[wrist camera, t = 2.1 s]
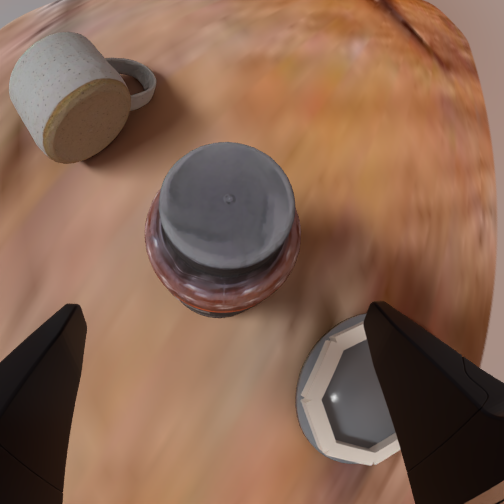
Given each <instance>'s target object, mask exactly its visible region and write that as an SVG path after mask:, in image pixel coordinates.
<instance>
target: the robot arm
mask: <svg viewBox="0 0 504 504" xmlns="http://www.w3.org/2000/svg"><path fill="white" fill-rule="evenodd" d="M363 325H364V330H365V334H366V338H367V342H368V346H369V350H370V354H371V359H372V362H373V366H374V369H375V372H376V375H377V378H378V381H379V384H380V386H381V389H382V392H383V395H384V398H385V401H386V404H387V407H388V410H389V413H390V417H391V420H392V423H393V426H394V429H395V432H396V436H397V439H398V442H399V446H400V449H401V452H402V456H403V459H404V463H405V466H406V470H407V472H408V473H407V474H408V478H409V482H410V485H411V489H412V493H413V497H414V501H415V504H504V383H503V382H501V381H499V380H498V379H496V378H494V377H493V376H491V375H490V374H488V373H486V372H485V371H483V370H482V369H480V368H479V367H477V366H476V365H475V364H473V363H472V362H470V361H469V360H468V359H466V358H465V357H462V355H461V354H459V353H458V352H456V351H455V350H454V349H452V348H451V347H449V346H448V345H447V344H445V343H444V342H442V341H441V340H439V339H438V338H437V337H435V336H434V335H432V334H431V333H429V332H428V331H427V330H425V329H424V328H422V327H421V326H419V325H418V324H416V323H415V322H414V321H412V320H411V319H409V318H408V317H406V316H405V315H403V314H402V313H400V312H399V311H398V310H396V309H395V308H393V307H392V306H390V305H389V304H387V303H386V302H384V301H374V302H372V303H371V304H370V306H369V309H368V311H367V314H366V316H365V319H364V323H363ZM86 334H87V325H86V321H85V318H84V315H83V312H82V309H81V307H80V305H78V304H66V305H65V306H63V307H62V308H61V309H60V310H59V311H57V312H56V313H55V314H54V315H53V316H52V317H50V318H49V319H48V320H47V321H46V322H45V323H43V324H42V325H41V326H40V327H39V328H38V329H37V330H35V331H34V332H33V333H32V334H31V335H30V336H29V337H27V338H26V339H25V340H24V341H23V342H22V343H21V344H20V345H19V346H17V347H16V348H15V349H14V350H13V351H12V352H11V353H10V354H9V355H8V356H7V357H6V358H4V359H3V360H2V361H1V362H0V504H62V502H63V493H62V492H63V486H64V476H65V466H66V458H67V450H68V443H69V436H70V430H71V423H72V418H73V412H74V407H75V401H76V396H77V391H78V387H79V382H80V377H81V371H82V363H83V355H84V347H85V340H86Z"/></svg>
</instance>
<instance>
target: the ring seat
mask: <svg viewBox="0 0 504 504" xmlns="http://www.w3.org/2000/svg"><path fill="white" fill-rule="evenodd" d="M366 314H367V313H365V314H361V315H356V316H354V317H351V318H348V319H346V320H344V321H343V322H341V323H339V324H337V325H336V326H335V327H333V328H332V329H330V330H329V331H328V332H327V333H326V334H325V335H324V336H323V337H322V338H321V339H320V340H319V341H318V342H317V343H316V345H315V346H314V347H313V349H312V350H311V352H310V353H309V355H308V357H307V359H306V361H305V362H304V364H303V367H302V370H301V372H300V375H299V379H298V383H297V388H296V413H297V418H298V421H299V425H300V427H301V429H302V431H303V434H304V435H305V437H306V438H307V440H308V441H309V442H310V443H311V444H312V445H313V446H314V447H315V448H316V449H317V450H318V451H319V452H320V453H322V454H323V455H324V456H326V457H328V458H330V459H332V460H335V461H338V462H342V463H348V464H359V463H360V464H365V465H370V466H372V464H375V465H376V464H378V463H380V462H381V461H383V460H385V459H386V458H388V457H389V456H391V455H393V454H394V453H396V452H397V451H399V450H400V446H399V442H398V439H397V436H396V432H395V429H394V426H393V423H392V420H391V417H390V413H389V410H388V407H387V404H386V401H385V398H384V395H383V392H382V389H381V386H380V384H379V381H378V378H377V375H376V372H375V369H374V366H373V362H372V359H371V354H370V350H369V346H368V342H367V338H366V334H365V330H364V325H363V323H364V319H365V316H366Z"/></svg>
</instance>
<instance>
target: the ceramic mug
mask: <svg viewBox="0 0 504 504" xmlns="http://www.w3.org/2000/svg"><path fill="white" fill-rule="evenodd" d="M120 74H125V75H130V76H133V77H134V78H136V79H138V80H139V82H140V83H141V84H142V85H143V87H144V90H145V91H143V92H141V93H138V94H134V95H130V93H129V90H128V87H127V86H126V84H125V82H124V80H123V79H122V77H121V76H120ZM155 87H156V77H155V75H154V74H153V72H152V71H151V70H150V69H149V68H148V67H146V66H145V65H143V64H141V63H139V62H136V61H133V60H129V59H123V58H104V57H103V56H102V54H101V53H100V52H99V51H98V50H97V49H96V47H95V46H94V45H93V44H92V43H91V42H90V41H89V40H88V39H87V38H86V37H84V36H83V35H81V34H78V33H73V32H60V33H55V34H52V35H49V36H47V37H45V38H43V39H41V40H39V41H37V42H36V43H34V44H33V45H32V46H31V47H30V48H29V49H27V51H26V52H25V53H24V54H23V55H22V56H21V57H20V59H19V60H18V62H17V63H16V65H15V67H14V69H13V71H12V74H11V78H10V82H9V94H10V98H11V101H12V103H13V104H14V106H15V108H16V110H17V112H18V113H19V115H20V117H21V119H22V120H23V122H24V124H25V125H26V127H27V128H28V130H29V132H30V134H31V136H32V137H33V139H34V141H35V142H36V144H37V146H38V147H39V148H40V149H41V150H42V151H43V152H44V153H45V154H46V155H47V156H48V157H49V158H50V159H52V160H54V161H56V162H59V163H64V164H68V163H76V162H79V161H83V160H85V159H88V158H90V157H92V156H93V155H95V154H97V153H99V152H100V151H101V150H103V149H104V148H105V147H106V146H107V145H108V144H110V143H111V142H112V141H113V140H114V139H115V138H116V136H117V135H118V134H119V133H120V131H121V130H122V128H123V126H124V125H125V123H126V121H127V118H128V115H129V112H130V111H132V110H136V109H139V108H140V107H142V106H144V105H145V104H147V103H148V102H149V101H150V100H151V98H152V96H153V93H154V90H155Z"/></svg>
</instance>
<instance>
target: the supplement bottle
mask: <svg viewBox="0 0 504 504" xmlns="http://www.w3.org/2000/svg"><path fill="white" fill-rule="evenodd" d="M300 241H301V228H300V221H299V217H298V214H297V211H296V207H295V198H294V193H293V190H292V186H291V184H290V182H289V179H288V177H287V176H286V174H285V173H284V171H283V170H282V169H281V167H280V166H279V165H278V164H277V163H276V162H275V161H274V160H273V159H272V158H271V157H269V156H268V155H266V154H265V153H263V152H261V151H259V150H257V149H256V148H254V147H250V146H247V145H244V144H239V143H231V142H219V143H213V144H208V145H204V146H201V147H199V148H196V149H194V150H192V151H191V152H189V153H188V154H186V155H185V156H184V157H182V158H181V159H179V160H178V161H177V162H176V163H175V164H174V166H173V167H172V168H171V169H170V171H169V172H168V174H167V175H166V177H165V179H164V181H163V184H162V187H161V189H160V190H159V191H158V192H157V194H156V196H155V198H154V199H153V201H152V204H151V207H150V209H149V212H148V215H147V219H146V224H145V242H146V250H147V253H148V256H149V260H150V262H151V264H152V267H153V269H154V271H155V273H156V274H157V276H158V278H159V279H160V280H161V282H162V283H163V284H164V285H165V286H166V288H167V289H168V290H169V291H170V292H171V293H172V294H173V295H174V296H175V297H176V298H177V299H178V300H180V301H181V302H182V303H183V304H184V305H185V306H186V307H188V308H189V309H190V310H192V311H194V312H196V313H198V314H200V315H203V316H207V317H213V318H225V317H231V316H234V315H236V314H239V313H241V312H243V311H245V310H247V309H249V308H251V307H253V306H255V305H256V304H258V303H260V302H261V301H262V300H264V299H266V298H267V297H269V296H270V295H271V294H272V293H274V292H275V291H276V290H277V289H278V288H279V287H280V286H281V285H282V284H283V283H284V282H285V280H286V279H287V278H288V276H289V275H290V273H291V271H292V269H293V267H294V265H295V263H296V260H297V257H298V254H299V250H300Z"/></svg>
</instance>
